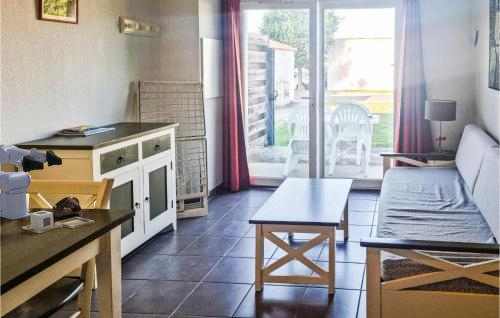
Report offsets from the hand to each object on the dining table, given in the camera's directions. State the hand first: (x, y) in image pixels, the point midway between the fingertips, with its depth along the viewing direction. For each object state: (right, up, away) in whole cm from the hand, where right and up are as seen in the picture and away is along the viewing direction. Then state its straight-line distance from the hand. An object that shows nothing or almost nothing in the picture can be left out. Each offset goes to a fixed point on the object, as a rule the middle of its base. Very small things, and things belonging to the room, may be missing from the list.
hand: (52, 164), depth 207 cm
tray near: (-2, -21, -2) cm, 21 cm away
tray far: (+7, -20, +4) cm, 22 cm away
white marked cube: (-2, -21, -2) cm, 21 cm away
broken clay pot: (+2, -19, +14) cm, 24 cm away
